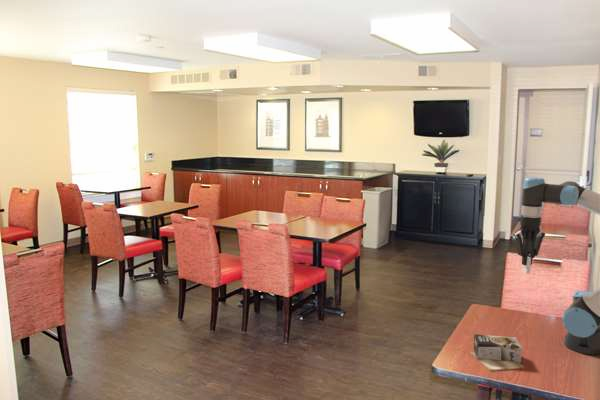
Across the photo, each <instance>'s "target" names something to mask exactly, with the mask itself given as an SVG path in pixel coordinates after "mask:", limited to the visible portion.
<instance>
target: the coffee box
mask: <svg viewBox="0 0 600 400" xmlns="http://www.w3.org/2000/svg"><path fill="white" fill-rule="evenodd" d="M473 352H475V354H476V356H477V358H480V359H490V360H501V361H512V362H519V363H521V362H522V352H523V347H522V345H521V344H520V342H519V340H518V339H517V337H514V336H513V337H512V336H501V335H488V334H486V335H485V334H473Z"/></svg>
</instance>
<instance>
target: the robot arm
mask: <svg viewBox="0 0 600 400" xmlns="http://www.w3.org/2000/svg"><path fill="white" fill-rule="evenodd" d="M523 180H524V181H523V185H522V186H523V187H522V198H521V199H522V201H521V212H520V214H521V216H520V221H519V224H520V227H519V231H517V232H514V233H513V236H514V238H515V244H516V251H517V255H518V256H521V265H522V273H524V274H531V267H532V265H533V261H534V260H533V259H534V258H536V257H537V256H538V255H539V252H540V248H541V246H542V242H543V239H544V237H546V233H545V232H542V231H541V225H542V214H543V212H542V211H543V204H553V205H554V204H555V205H561V206H562V205H563V206H578V207H580V208H582V209H585V210H587V211H589V212H591V213H594V214H596V215H599V216H600V193H598V192H595V191H593V190H591V189H588V188H586V187H584V186H581V185H580V184H579V183H577V182H576V181H572V180H570V181H569V180H568V181H564V182H562V183H561V184H552V183H546V181H545V178H543V177H536V176H535V177H534V176H533V177H532V176H530V177H525V178H524V179H523ZM561 319H562V320H561V321H562V325H563V328H564V329H565V330H566V334H565V335H564V337H563V339H564V340H563V344H564V345H565V347H567V348H568V349H570V350H572V351H575V352H577V353H581V354H585V355H590V356H591V355H592V356H593V355H594V356H595V355H596V356H598V355H600V287H598V288H597V289H596V290H595V291H593V292H592V291H586V290H575V291H574V292H573V295H572V303H571V304H569V306H568V307H567V309H565V311H563V315H562V318H561Z"/></svg>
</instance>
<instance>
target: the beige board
mask: <svg viewBox="0 0 600 400" xmlns="http://www.w3.org/2000/svg"><path fill="white" fill-rule="evenodd" d="M470 355H471V356H472V357H474V359H475V360H477V362H479V363H480V364H482V366H484V367H485V368H486V369H487V370H488V371H489V372H492V371H505V370H506V371H507V370H514V369H525V366H524V365H523V364H521V362H512V361H501V360H490V359H480V358H477V356H476V354H475V351H471V352H470Z"/></svg>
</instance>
